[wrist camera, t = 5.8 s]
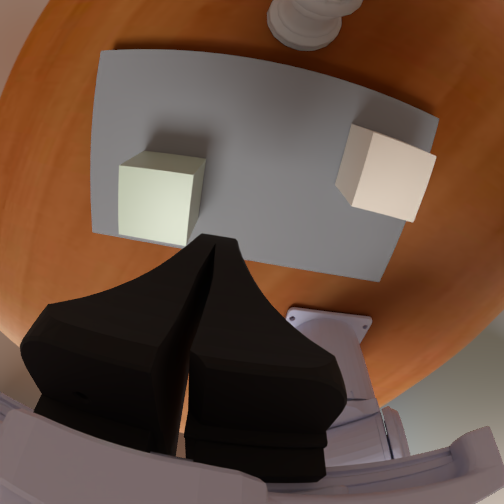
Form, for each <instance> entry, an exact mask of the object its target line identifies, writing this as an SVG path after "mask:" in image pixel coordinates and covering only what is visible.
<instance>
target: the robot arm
mask: <svg viewBox="0 0 504 504" xmlns="http://www.w3.org/2000/svg"><path fill="white" fill-rule="evenodd" d="M291 316H294V317H293V318H290V317H291ZM371 324H372V318H371V317H369V316H361V315H352V314H344V313H336V312H328V311H320V310H312V309H305V308H298V307H292V308H290V309H289V310H288V312H287V315H286V318H284V317H283V316H282V315H281V314H280V313H279V312H278V311H277V310H276V309H275V308H274V307H273V306H272V305H271V304H270V302H269V301H268V300H267V299H266V297H265V296H264V295H263V293H262V292H261V290H260V289H259V287H258V286H257V284H256V282H255V281H254V279H253V277H252V276H251V274H250V272H249V270H248V268H247V266H246V264H245V262H244V259H243V257H242V254H241V252H240V248H239V244H238V241H237V240H236V239H235V238H229V237H223V236H217V235H211V234H204V233H201V234H200V235H198V236H197V237H196V238H195V239H194V240H193V241H191V242H190V243H189V244H188V245H187V246H185V247H184V248H183V249H182V250H180V251H179V252H178V253H176V254H175V255H174V256H173V257H171V258H170V259H168V260H167V261H165V262H164V263H162V264H161V265H159V266H158V267H156V268H155V269H153V270H151V271H149V272H148V273H146V274H144V275H142V276H140V277H138V278H136V279H134V280H131V281H129V282H126V283H124V284H122V285H119V286H117V287H114V288H112V289H109V290H106V291H103V292H100V293H97V294H93V295H90V296H86V297H82V298H78V299H73V300H68V301H63V302H58V303H53V304H48V305H47V306H46V308H45V309H44V310H43V311H42V313H41V314H40V315H39V317H38V318H37V320H36V321H35V322H34V324H33V325H32V327H31V328H30V329H29V331H28V332H27V334H26V335H25V337H24V338H23V340H22V342H21V344H20V351H21V356H22V359H23V361H24V364H25V366H26V368H27V370H28V371H29V373H30V375H31V377H32V378H33V380H34V382H35V383H36V385H37V387H38V388H39V390H40V391H41V393H42V395H41V397H40V399H39V401H38V403H37V405H36V407H35V409H34V410H33V409H32V408H30V407H27V406H26V405H24V404H22V403H20V402H18V401H16V400H14V399H12V398H11V397H9V396H7V395H5V394H3V393H2V392H0V504H475V503H477V502H479V501H481V500H483V499H484V498H486V497H488V496H490V495H491V494H493V493H495V492H497V491H498V490H500V489H501V488H503V487H504V465H503V462H502V459H501V456H500V453H499V450H498V447H497V445H496V442H495V440H494V437H493V434H492V432H491V429H490V427H489V426H486V427H482V428H479V429H476V430H473V431H470V432H468V433H466V434H464V435H462V436H461V437H459V438H458V439H457V440H455V441H454V442H453V443H452V444H451V446H449V447H445V448H442V449H438V450H434V451H430V452H426V453H422V454H417V455H413V456H410V452H409V447H408V444H407V439H406V436H405V432H404V428H403V425H402V422H401V419H400V416H399V414H398V412H397V411H396V410H394V409H391V408H390V407H389V406H387V407H385V408H383V409H382V411H383V415H384V419H385V421H384V423H385V427H386V430H387V435H386V432H385V428H384V424H383V420H382V416H381V413H380V410H379V406H378V402H377V399H376V398H375V395H374V391H373V388H372V384H371V381H370V377H369V374H368V370H367V367H366V364H365V360H364V357H363V354H362V351H361V348H360V343H361V341H362V339H363V338H364V336H365V334H366V333H367V331H368V329H369V327H370V326H371ZM364 325H365V326H364ZM188 375H189V399H188V415H187V420H186V426H185V432H184V438H185V449H186V458H180V457H176V449H177V442H178V435H179V428H180V422H181V415H182V409H183V403H184V397H185V391H186V386H187V380H188Z"/></svg>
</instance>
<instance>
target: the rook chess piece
mask: <svg viewBox="0 0 504 504" xmlns="http://www.w3.org/2000/svg"><path fill="white" fill-rule="evenodd" d="M362 1H363V0H272V3H271V5H270V7H269V9H268V12H267V23H268V27H269V28H270V30H271V32H272V34H273V36H274V37H275V38H276V39H278V40H279V41H280V42H281V43H283V44H284V45H285V46H288V47H291V48H293V49H296V50H300V51H314V50H317V49H320V48H323V47H326V46H327V45H328V44H329V43H331V42H332V41H333V40H334V39H335V37H336V36H338V33H339V31H340V28H341V26H342V20H341V16H345V15H350V14H352V13H353V12H354V11H355V10H357V9H358V8H359V7H360V6H361V4H362Z"/></svg>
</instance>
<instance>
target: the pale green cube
mask: <svg viewBox="0 0 504 504" xmlns="http://www.w3.org/2000/svg"><path fill="white" fill-rule="evenodd" d="M205 163H206V159H204V158H198V157H191V156H183V155H176V154H168V153H160V152H151V151H143V152H141V153H139V154H137V155H136V156H134V157H132V158H131V159H129V160H127V161H126V162H124V163H122V164H121V165H119V183H118V227H119V234H120V235H126V236H131V237H137V238H142V239H148V240H154V241H159V242H165V243H170V244H176V245H182V246H186V245H187V243H188V240H189V238H190V236H191V233H192V231H193V229H194V227H195V224H196V222H197V220H198V215H199V207H200V200H201V192H202V185H203V177H204V170H205Z"/></svg>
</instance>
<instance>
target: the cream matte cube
mask: <svg viewBox="0 0 504 504" xmlns="http://www.w3.org/2000/svg"><path fill="white" fill-rule="evenodd" d="M436 157H437V156H434V155H432V154H430V153H428V152H426V151H424V150H422V149H419V148H417V147H415V146H413V145H410V144H408V143H405V142H403V141H400V140H398V139H395V138H392V137H390V136H387V135H384V134H381V133H378V132H375V131H372V130H370V129H367V128H363V127H360V126H357V125H354V124H351V128H350V132H349V135H348V139H347V143H346V147H345V150H344V154H343V157H342V161H341V165H340V168H339V172H338V175H337V179H336V182H335V185H336V187H337V188H338V189H339V191H340V192H341V193H342V194H343V196H344V197H345V198H346V200H347V201H348V202H349V204H350V205H351V206H352V207H356V208H360V209H364V210H368V211H372V212H376V213H380V214H384V215H387V216H391V217H395V218H398V219H402V220H406V221H409V222H414V219H415V217H416V214H417V212H418V209H419V206H420V204H421V201H422V198H423V196H424V193H425V190H426V187H427V184H428V182H429V179H430V176H431V173H432V170H433V167H434V163H435V160H436Z"/></svg>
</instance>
